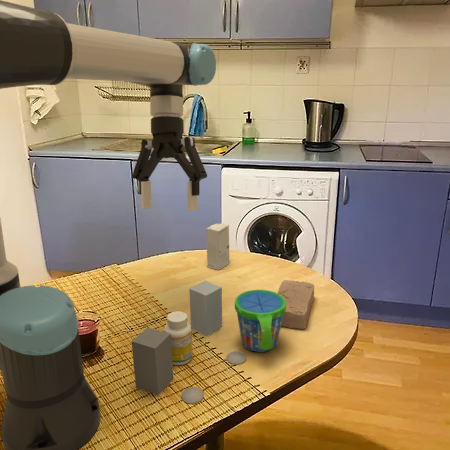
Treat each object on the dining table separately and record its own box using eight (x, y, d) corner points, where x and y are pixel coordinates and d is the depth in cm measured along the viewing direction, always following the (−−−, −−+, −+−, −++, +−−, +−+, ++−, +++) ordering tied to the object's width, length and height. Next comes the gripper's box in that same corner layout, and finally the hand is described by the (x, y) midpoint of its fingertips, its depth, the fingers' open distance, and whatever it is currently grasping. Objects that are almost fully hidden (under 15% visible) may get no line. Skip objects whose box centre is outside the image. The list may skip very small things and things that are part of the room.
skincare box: (219, 270, 131) (218, 231, 127) (206, 267, 133) (205, 228, 129) (230, 263, 136) (230, 224, 132) (217, 259, 138) (217, 222, 134)
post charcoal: (158, 395, 82) (154, 348, 79) (135, 387, 84) (131, 341, 81) (173, 379, 87) (170, 333, 83) (151, 371, 89) (148, 327, 85)
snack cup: (234, 323, 105) (234, 283, 101) (280, 323, 105) (282, 283, 101) (234, 366, 90) (234, 321, 87) (288, 366, 90) (290, 321, 86)
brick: (282, 293, 119) (282, 276, 117) (314, 297, 116) (315, 281, 115) (268, 326, 104) (268, 308, 102) (305, 332, 101) (306, 314, 100)
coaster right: (238, 367, 90) (238, 366, 90) (222, 359, 92) (222, 358, 92) (249, 357, 93) (249, 355, 93) (233, 350, 95) (233, 349, 95)
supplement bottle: (190, 366, 90) (189, 324, 87) (163, 365, 90) (161, 323, 87) (193, 350, 95) (192, 309, 92) (168, 349, 95) (165, 309, 92)
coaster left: (194, 407, 79) (193, 405, 79) (176, 397, 82) (176, 396, 82) (208, 394, 82) (208, 392, 82) (191, 385, 85) (191, 384, 85)
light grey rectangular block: (207, 336, 100) (205, 295, 96) (190, 328, 103) (189, 288, 100) (222, 326, 103) (221, 287, 100) (206, 319, 107) (205, 280, 103)
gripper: (221, 115, 102) (222, 210, 104) (137, 122, 115) (139, 206, 117) (202, 111, 96) (203, 212, 98) (115, 119, 109) (118, 208, 111)
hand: (168, 209), depth 108 cm, fingers open, 13 cm apart
